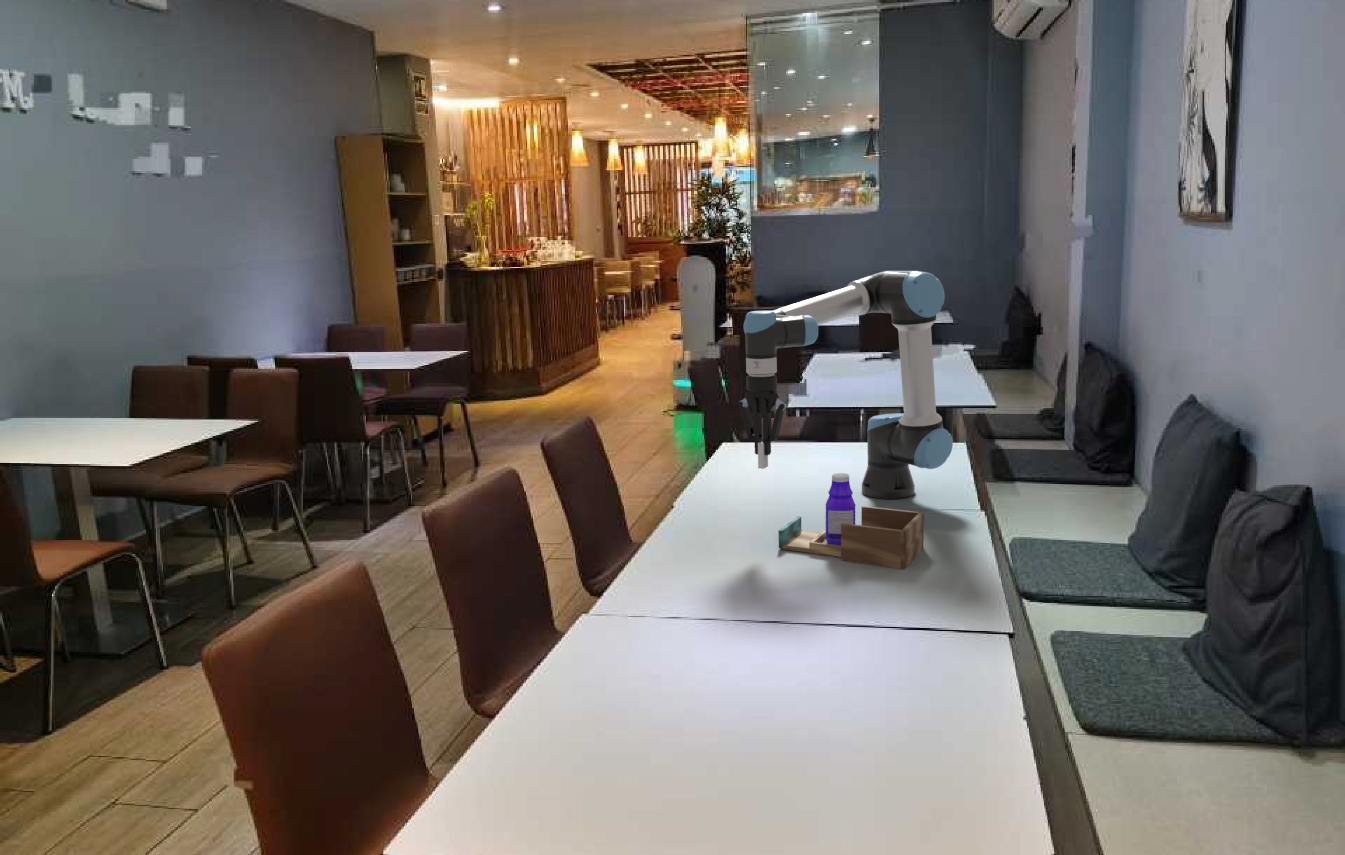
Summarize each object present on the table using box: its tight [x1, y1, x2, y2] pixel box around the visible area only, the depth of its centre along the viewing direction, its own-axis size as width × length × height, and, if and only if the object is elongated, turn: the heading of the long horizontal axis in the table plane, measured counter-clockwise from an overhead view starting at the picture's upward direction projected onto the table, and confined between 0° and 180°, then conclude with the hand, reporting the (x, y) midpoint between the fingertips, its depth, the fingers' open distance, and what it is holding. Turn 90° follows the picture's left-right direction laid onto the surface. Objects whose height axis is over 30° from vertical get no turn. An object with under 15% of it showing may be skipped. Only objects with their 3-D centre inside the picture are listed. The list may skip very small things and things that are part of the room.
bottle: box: [825, 472, 857, 546], centre depth 234 cm, size 7×6×17 cm
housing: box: [840, 505, 925, 570], centre depth 230 cm, size 16×15×9 cm
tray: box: [777, 516, 841, 558], centre depth 237 cm, size 12×21×5 cm, turn 61°
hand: (763, 467), depth 242 cm, fingers closed
